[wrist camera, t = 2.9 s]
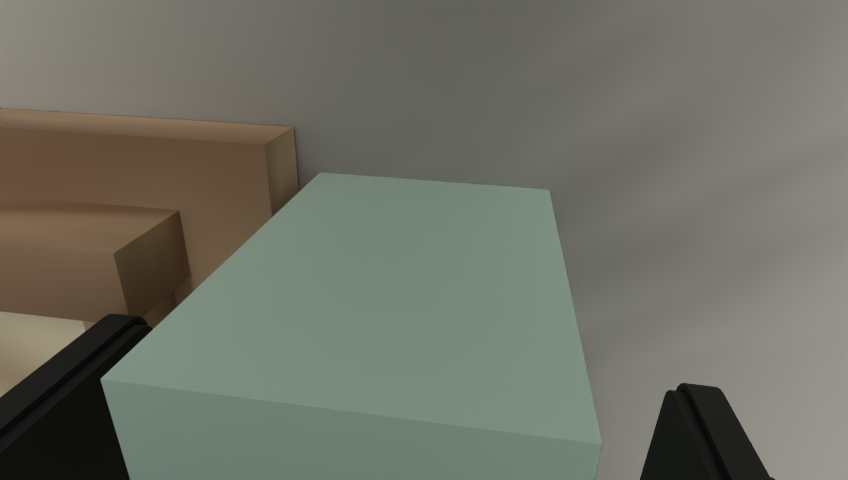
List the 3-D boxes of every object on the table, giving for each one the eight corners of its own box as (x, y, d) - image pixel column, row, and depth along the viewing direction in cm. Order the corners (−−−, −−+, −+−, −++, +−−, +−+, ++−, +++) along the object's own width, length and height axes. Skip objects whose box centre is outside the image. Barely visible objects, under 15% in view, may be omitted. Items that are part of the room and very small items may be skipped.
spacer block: (320, 172, 12) (100, 378, 5) (549, 189, 11) (602, 444, 5) (330, 354, 14) (182, 655, 8) (523, 376, 13) (536, 723, 7)
